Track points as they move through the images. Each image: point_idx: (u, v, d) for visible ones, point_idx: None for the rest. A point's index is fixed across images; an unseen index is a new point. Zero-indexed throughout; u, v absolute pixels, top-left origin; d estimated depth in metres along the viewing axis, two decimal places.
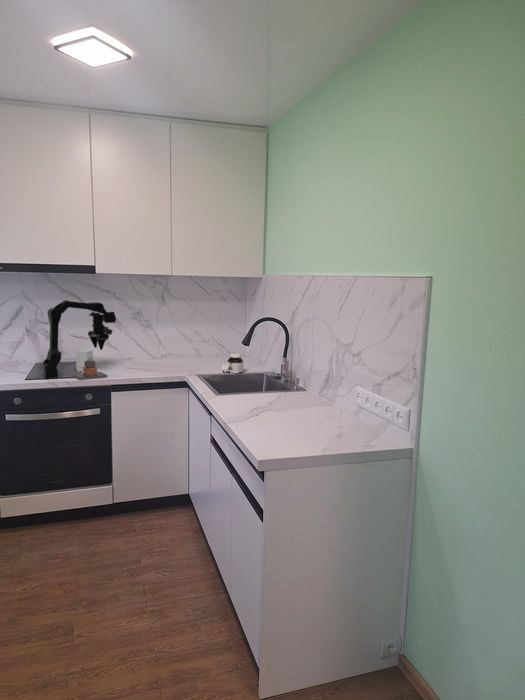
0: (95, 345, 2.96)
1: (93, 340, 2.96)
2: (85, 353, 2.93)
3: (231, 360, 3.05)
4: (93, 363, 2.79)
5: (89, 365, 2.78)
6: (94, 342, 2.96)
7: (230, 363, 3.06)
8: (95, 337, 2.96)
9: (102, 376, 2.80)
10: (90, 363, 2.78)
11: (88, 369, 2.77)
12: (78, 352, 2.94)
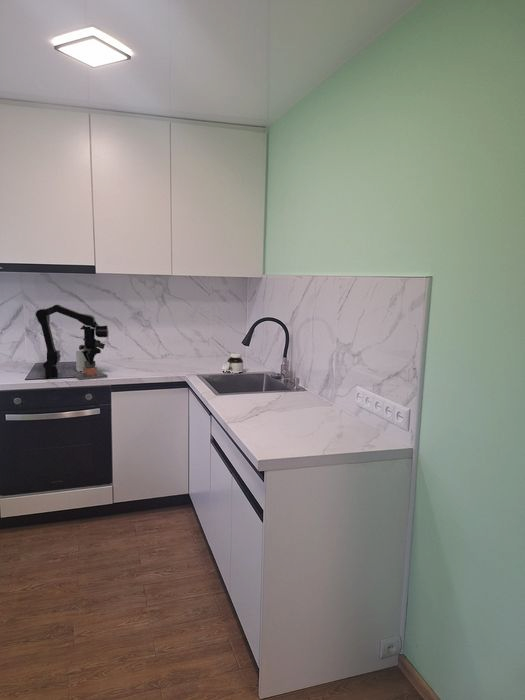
0: (88, 360, 2.81)
1: (86, 355, 2.80)
2: None
3: (231, 360, 3.05)
4: (93, 363, 2.79)
5: (89, 365, 2.78)
6: (87, 357, 2.81)
7: (230, 363, 3.06)
8: None
9: (102, 376, 2.80)
10: None
11: (88, 369, 2.77)
12: (78, 352, 2.94)
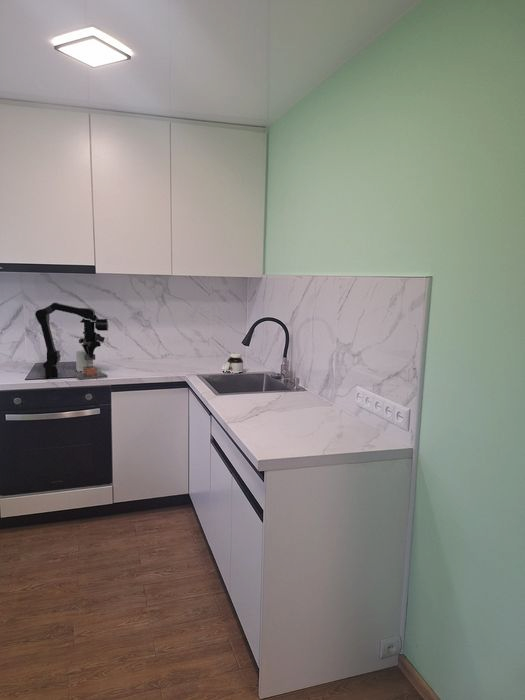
0: None
1: (86, 348, 2.80)
2: (85, 353, 2.93)
3: (231, 360, 3.05)
4: (93, 356, 2.79)
5: (89, 358, 2.78)
6: (87, 351, 2.80)
7: (230, 363, 3.06)
8: (88, 345, 2.80)
9: (102, 376, 2.80)
10: None
11: (88, 369, 2.77)
12: (78, 352, 2.94)
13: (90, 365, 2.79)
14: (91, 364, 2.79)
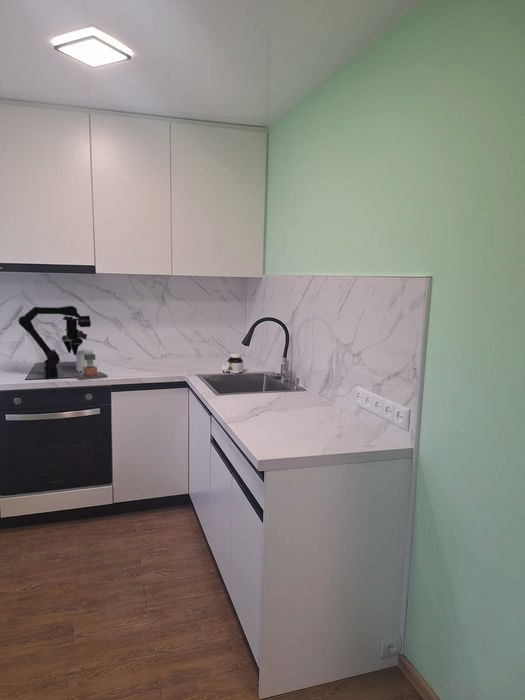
0: (69, 350, 2.85)
1: (67, 345, 2.84)
2: (85, 353, 2.93)
3: (231, 360, 3.05)
4: (93, 356, 2.79)
5: (89, 358, 2.78)
6: (68, 347, 2.84)
7: (230, 363, 3.06)
8: (69, 342, 2.85)
9: (102, 376, 2.80)
10: (90, 356, 2.78)
11: (88, 369, 2.77)
12: (78, 352, 2.94)
13: (90, 365, 2.79)
14: (91, 364, 2.79)
